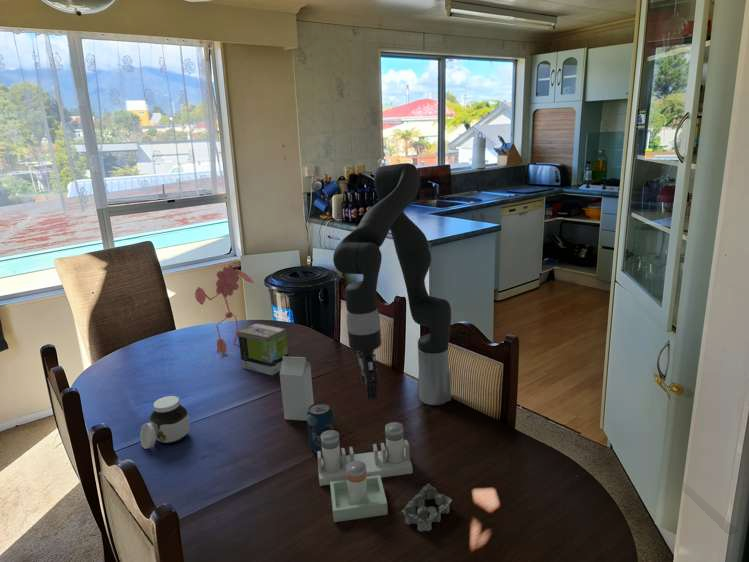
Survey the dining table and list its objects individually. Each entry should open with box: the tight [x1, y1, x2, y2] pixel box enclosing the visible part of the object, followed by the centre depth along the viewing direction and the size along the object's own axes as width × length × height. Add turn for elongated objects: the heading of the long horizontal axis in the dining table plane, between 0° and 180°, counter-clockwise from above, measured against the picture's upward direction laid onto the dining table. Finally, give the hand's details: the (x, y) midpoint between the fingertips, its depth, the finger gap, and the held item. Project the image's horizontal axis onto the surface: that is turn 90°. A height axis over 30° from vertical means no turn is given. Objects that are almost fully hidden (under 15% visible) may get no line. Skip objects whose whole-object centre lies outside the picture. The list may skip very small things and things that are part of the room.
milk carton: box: [279, 356, 315, 422], centre depth 158 cm, size 7×7×19 cm
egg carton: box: [400, 482, 453, 533], centre depth 117 cm, size 11×8×4 cm
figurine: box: [194, 263, 254, 359], centre depth 205 cm, size 15×26×35 cm, turn 148°
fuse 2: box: [384, 421, 405, 464], centre depth 133 cm, size 5×5×9 cm
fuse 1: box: [321, 429, 342, 473], centre depth 131 cm, size 5×5×9 cm
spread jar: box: [139, 395, 191, 450], centre depth 149 cm, size 12×11×12 cm
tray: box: [329, 475, 389, 523], centre depth 121 cm, size 12×10×3 cm
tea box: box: [237, 322, 289, 376], centre depth 193 cm, size 15×10×15 cm
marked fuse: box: [346, 461, 368, 506], centre depth 120 cm, size 5×5×9 cm
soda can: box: [306, 402, 335, 455], centre depth 142 cm, size 7×7×12 cm
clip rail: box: [316, 439, 414, 487], centre depth 133 cm, size 23×8×6 cm, turn 98°
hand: (369, 389), depth 127 cm, fingers open, 8 cm apart
